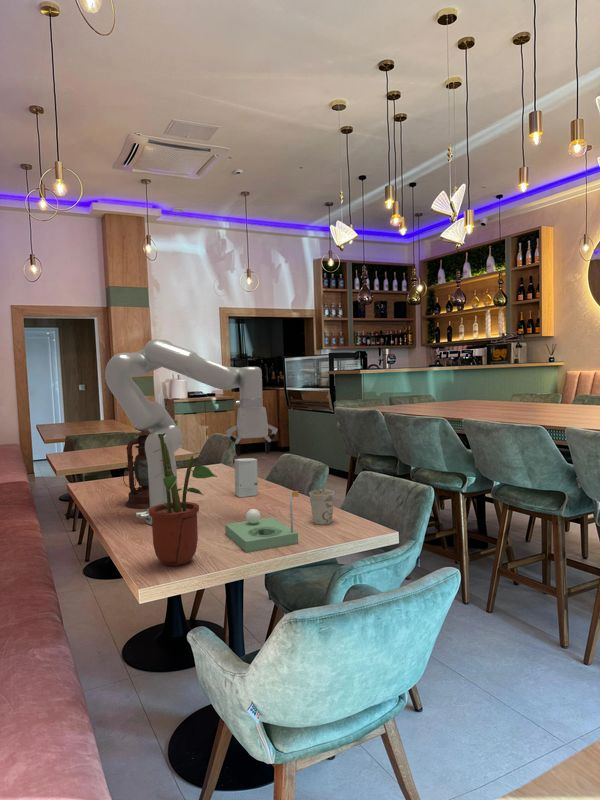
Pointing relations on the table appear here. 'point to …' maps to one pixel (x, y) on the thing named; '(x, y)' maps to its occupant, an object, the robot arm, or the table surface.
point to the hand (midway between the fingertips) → (252, 454)
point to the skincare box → (246, 477)
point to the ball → (253, 516)
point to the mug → (322, 506)
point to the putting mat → (263, 532)
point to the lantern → (138, 474)
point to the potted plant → (176, 515)
